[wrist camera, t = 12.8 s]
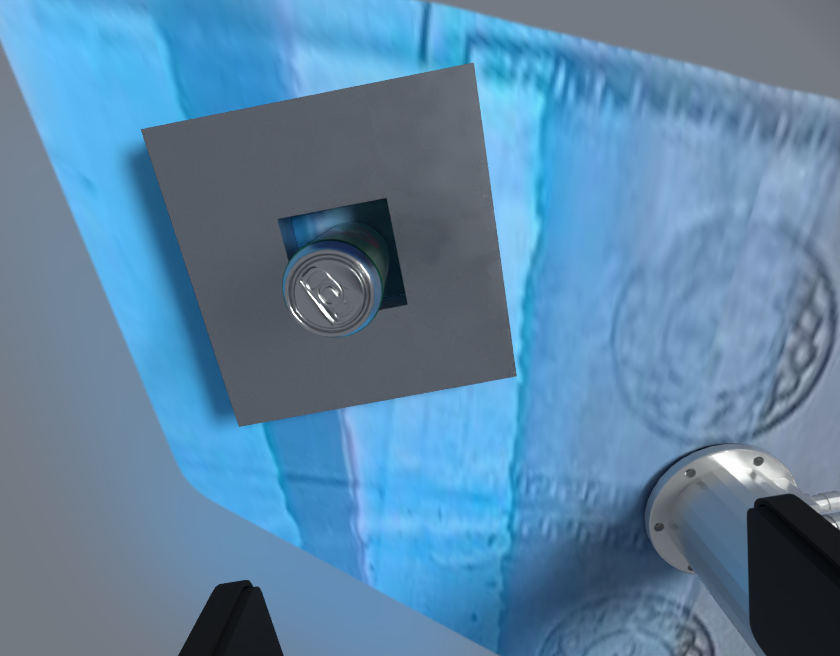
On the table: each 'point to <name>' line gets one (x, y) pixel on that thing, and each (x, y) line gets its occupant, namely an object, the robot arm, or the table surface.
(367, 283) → the soda can
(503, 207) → the table surface
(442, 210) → the bore block
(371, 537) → the table surface
